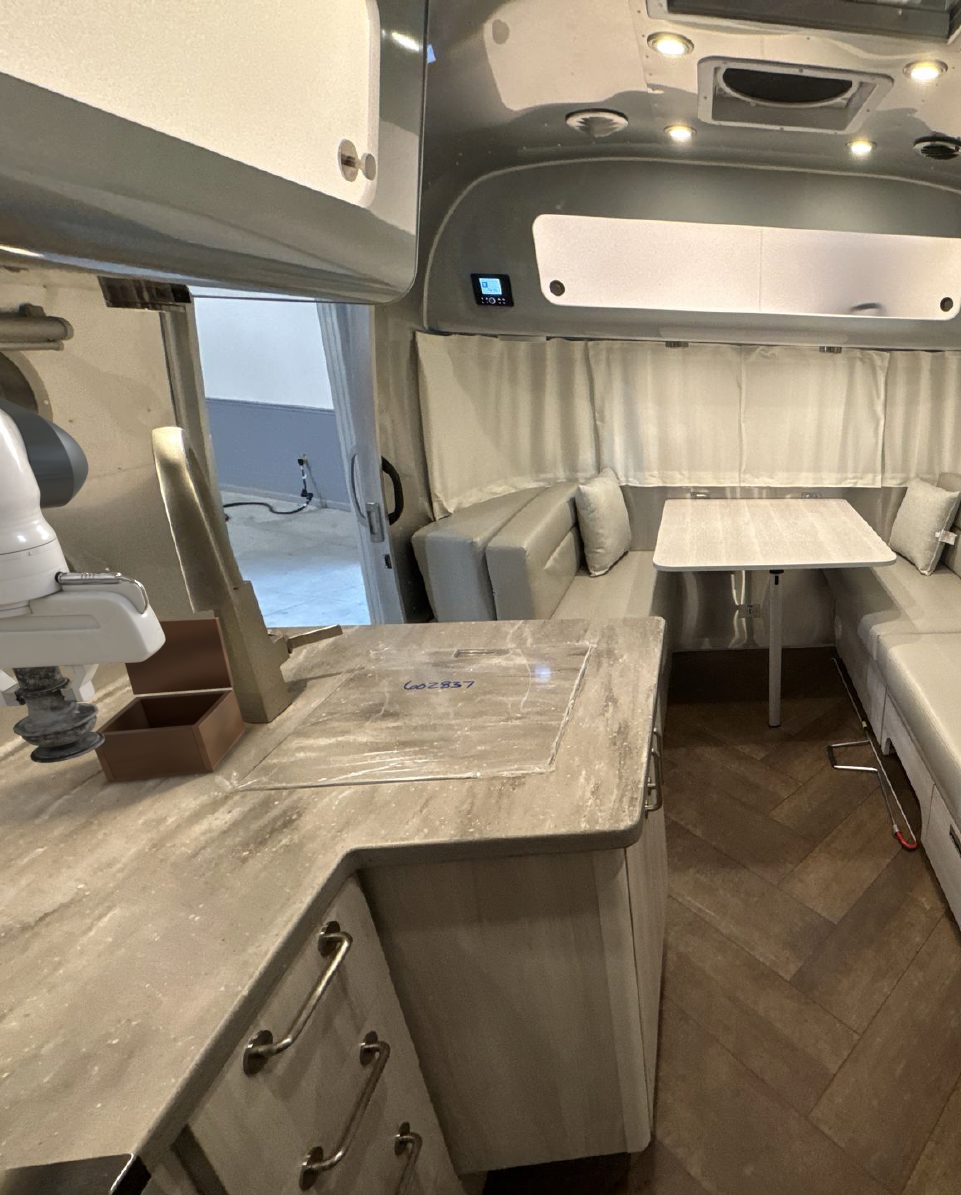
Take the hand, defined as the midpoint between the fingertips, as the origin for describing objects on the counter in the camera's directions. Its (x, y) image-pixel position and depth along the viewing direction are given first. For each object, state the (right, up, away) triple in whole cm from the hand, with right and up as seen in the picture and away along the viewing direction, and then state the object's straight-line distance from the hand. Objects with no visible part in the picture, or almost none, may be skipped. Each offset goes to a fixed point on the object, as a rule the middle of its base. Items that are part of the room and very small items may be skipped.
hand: (49, 701), depth 64 cm
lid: (-14, +2, +27) cm, 31 cm away
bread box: (-14, -13, +28) cm, 34 cm away
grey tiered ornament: (-1, -5, +2) cm, 6 cm away
